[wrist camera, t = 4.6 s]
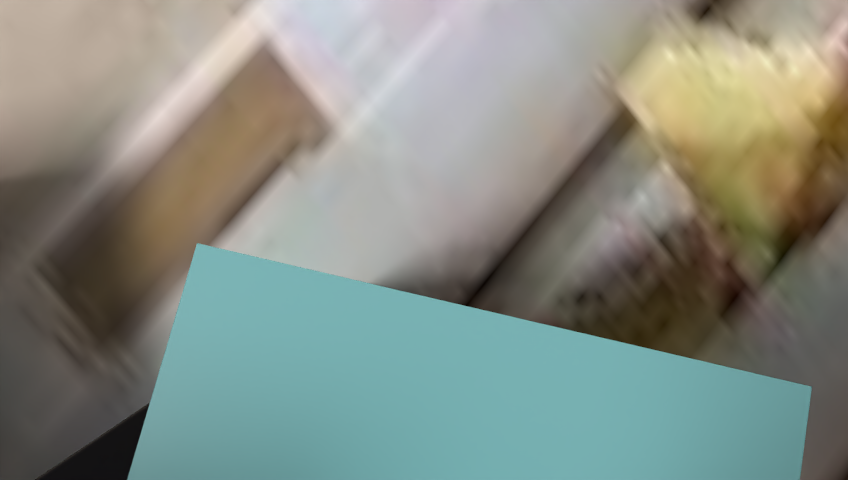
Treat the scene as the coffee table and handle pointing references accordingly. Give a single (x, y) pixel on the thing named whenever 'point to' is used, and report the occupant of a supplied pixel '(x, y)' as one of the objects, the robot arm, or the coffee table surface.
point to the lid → (436, 392)
